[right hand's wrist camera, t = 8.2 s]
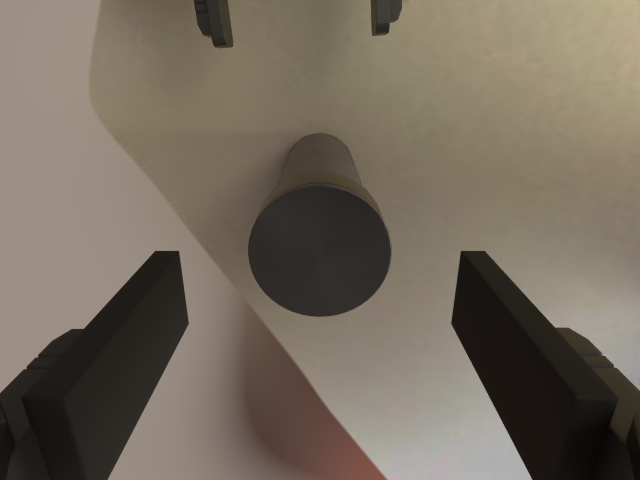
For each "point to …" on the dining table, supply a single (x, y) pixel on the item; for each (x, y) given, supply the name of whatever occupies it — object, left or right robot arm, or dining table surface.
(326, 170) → the jar
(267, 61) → the dining table surface
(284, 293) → the lid
